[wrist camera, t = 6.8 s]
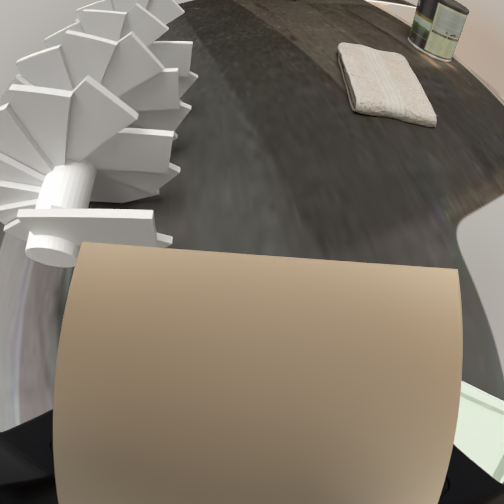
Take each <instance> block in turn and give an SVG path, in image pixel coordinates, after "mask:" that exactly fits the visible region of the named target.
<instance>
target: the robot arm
mask: <svg viewBox="0 0 504 504" xmlns="http://www.w3.org/2000/svg"><path fill="white" fill-rule="evenodd" d="M0 504H59V503H58V496H57V489H56V480H55V469H54V454H53V409H52V410H50V411H48V412H46V413H44V414H42V415H40V416H38V417H36V418H34V419H31V420H29V421H27V422H25V423H23V424H21V425H18V426H16V427H14V428H12V429H9V430H7V431H4V432H0ZM438 504H504V484H502V483H500V482H498V481H497V480H496V479H494V478H493V477H492V476H491V475H489V474H488V473H487V472H486V471H484V470H483V469H482V468H481V467H480V466H478V465H477V464H476V463H475V462H474V461H472V460H471V459H470V458H469V457H468V456H466V455H465V454H464V453H463V452H462V451H461V450H460V449H458V448H457V447H456V446H455V445H454V444H453V448H452V453H451V458H450V462H449V466H448V470H447V474H446V478H445V481H444V485H443V488H442V492H441V495H440V498H439V501H438Z"/></svg>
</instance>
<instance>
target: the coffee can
mask: <svg viewBox="0 0 504 504" xmlns="http://www.w3.org/2000/svg"><path fill="white" fill-rule="evenodd" d="M468 13H469V10H468V9H467V8H466V7H464V6H463V5H461V4H460V3H458V2H456V1H455V0H418V5H417V8H416V12H415V17H414V20H413V24H412V28H411V31H410V35H409V37H408V41H409V42H410V44H411V45H413V46H414V47H415V48H416V49H418V50H419V51H421V52H423V53H424V54H426V55H428V56H430V57H432V58H435V59H437V60H440V61H443V62H450V61H451V58H452V56H453V53H454V51H455V48H456V45H457V43H458V40H459V38H460V35H461V32H462V29H463V26H464V24H465V21H466V18H467V15H468Z"/></svg>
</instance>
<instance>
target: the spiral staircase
mask: <svg viewBox="0 0 504 504" xmlns="http://www.w3.org/2000/svg"><path fill="white" fill-rule="evenodd" d="M184 12H185V11H184V10H183V9H182V8H181V7H180V6H179V5H178V4H177V3H176V2H175V1H174V0H102V1H99V2H96V3H93V4H90V5H87V6H84V7H82V8H79V9H77V10H76V13H77V16H78V19H75V21H74V22H73V23H72V24H71V25H70V26H68V27H66V28H64V29H62V30H60V31H58V32H56V33H55V34H52V35H51V36H49V37H47V38H46V39H45V40H44V42H45V44H46V46H47V47H48V49H45V50H42V51H39V52H37V53H34V54H31V55H28V56H26V57H23V58H21V59H19V60H18V61H17V62H16V65H17V67H18V69H19V71H20V74H21V75H19V74H17V76H16V77H15V78H14V80H13V81H12V82H11V84H10V85H9V87H8V88H7V89H6V91H5V92H4V94H3V95H2V97H1V98H0V222H2V223H3V224H4V225H5V227H4V232H7V233H9V234H11V235H13V236H15V237H17V238H19V239H21V240H23V241H26V242H27V245H26V250H25V253H26V255H27V256H28V257H29V258H31V259H32V260H34V261H37V262H39V263H42V264H46V265H50V266H55V267H74V266H75V265H76V261H77V258H78V254H79V251H80V247H81V244H82V242H92V243H105V244H118V245H131V246H144V247H157V248H166V247H168V246H169V245H171V244H172V238H173V237H172V236H168V235H164V234H160V233H157V232H156V226H155V219H154V212H153V210H134V209H88V207H89V202H90V201H96V202H114V203H125V202H129V201H133V200H137V199H141V198H146V197H150V196H155V195H159V188H161V187H162V186H163V185H164V184H166V183H167V182H168V181H169V180H171V179H172V178H173V177H175V176H176V175H177V174H179V173H180V167H178V166H176V165H174V164H172V163H170V162H169V161H170V154H171V148H172V141H173V140H175V139H177V138H178V135H177V134H176V133H175V132H174V131H175V130H176V128H177V127H178V126H179V124H180V123H181V122H182V120H183V119H184V118H185V116H186V115H187V114H188V113H189V111H190V110H191V105H188V104H186V103H183V102H182V101H181V99H180V97H181V96H182V95H183V94H184V93H185V92H186V90H187V89H188V88H189V87H190V86H191V85H192V84H193V83H194V82H195V81H196V79H197V78H198V75H196V74H195V73H193V72H191V71H190V63H191V54H192V45H193V42H189V41H155V40H156V39H157V38H159V37H160V36H161V35H162V34H164V33H165V32H166V31H167V30H168V29H169V27H167V26H166V24H168V23H169V22H171V21H172V20H174V19H175V18H177V17H178V16H180V15H182V14H183V13H184Z"/></svg>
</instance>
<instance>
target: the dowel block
mask: <svg viewBox="0 0 504 504" xmlns="http://www.w3.org/2000/svg"><path fill="white" fill-rule="evenodd" d="M462 355H463V334H462V309H461V296H460V285H459V276H458V269H446V268H431V267H417V266H403V265H388V264H374V263H360V262H346V261H332V260H318V259H305V258H291V257H277V256H264V255H250V254H237V253H223V252H210V251H196V250H183V249H170V248H157V247H144V246H131V245H118V244H105V243H92V242H82V244H81V247H80V251H79V254H78V258H77V261H76V265H75V269H74V272H73V276H72V280H71V284H70V289H69V293H68V297H67V302H66V307H65V312H64V317H63V323H62V328H61V334H60V341H59V348H58V355H57V364H56V373H55V385H54V401H53V454H54V469H55V480H56V489H57V496H58V503H59V504H438V501H439V498H440V495H441V492H442V488H443V485H444V481H445V478H446V474H447V470H448V466H449V462H450V458H451V453H452V448H453V443H454V438H455V432H456V426H457V419H458V411H459V403H460V393H461V379H462Z"/></svg>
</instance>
